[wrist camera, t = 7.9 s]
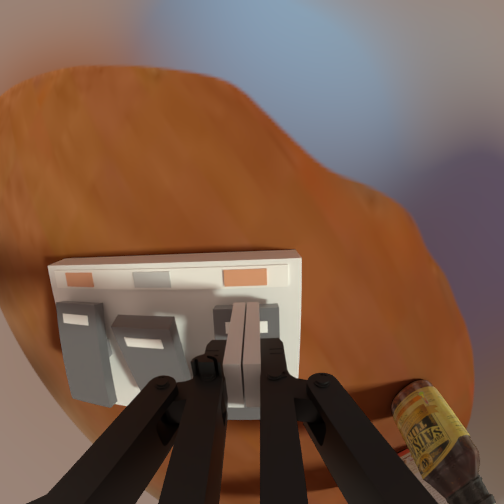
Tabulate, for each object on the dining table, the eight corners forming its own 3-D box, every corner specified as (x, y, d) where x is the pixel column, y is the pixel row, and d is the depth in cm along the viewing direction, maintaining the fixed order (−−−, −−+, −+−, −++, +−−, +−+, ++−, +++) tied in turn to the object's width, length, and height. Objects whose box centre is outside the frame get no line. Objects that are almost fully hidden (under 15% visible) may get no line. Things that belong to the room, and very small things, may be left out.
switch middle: (196, 394, 21) (194, 408, 20) (150, 391, 22) (146, 403, 20) (174, 316, 18) (169, 330, 16) (118, 314, 18) (110, 327, 16)
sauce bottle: (401, 377, 25) (485, 507, 6) (438, 375, 25) (521, 480, 6) (379, 418, 26) (435, 543, 7) (415, 414, 27) (477, 519, 7)
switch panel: (292, 393, 25) (297, 421, 21) (98, 383, 26) (83, 404, 22) (295, 249, 22) (304, 261, 18) (65, 258, 23) (39, 268, 19)
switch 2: (278, 409, 20) (280, 419, 18) (224, 410, 20) (222, 420, 18) (277, 303, 19) (279, 307, 18) (215, 305, 19) (212, 309, 18)
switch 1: (117, 401, 19) (110, 408, 18) (80, 392, 20) (71, 398, 18) (103, 302, 20) (93, 304, 18) (65, 300, 20) (55, 302, 19)
